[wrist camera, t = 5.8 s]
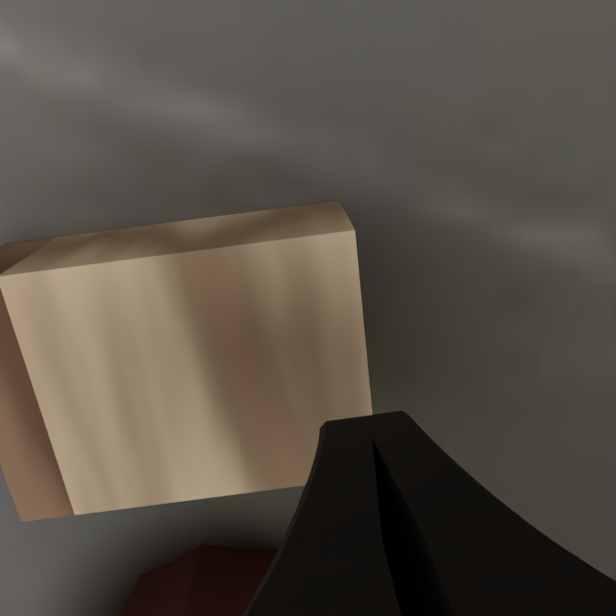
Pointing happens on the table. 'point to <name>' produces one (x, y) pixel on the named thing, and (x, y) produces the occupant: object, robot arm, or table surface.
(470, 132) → the table surface
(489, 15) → the table surface
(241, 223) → the maple block
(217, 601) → the muffin
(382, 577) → the robot arm
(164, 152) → the table surface
